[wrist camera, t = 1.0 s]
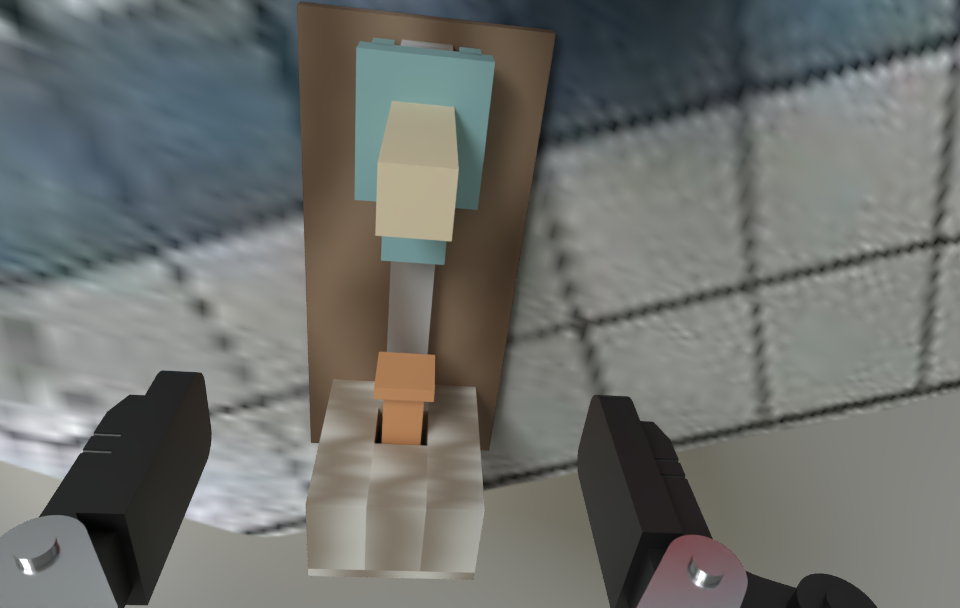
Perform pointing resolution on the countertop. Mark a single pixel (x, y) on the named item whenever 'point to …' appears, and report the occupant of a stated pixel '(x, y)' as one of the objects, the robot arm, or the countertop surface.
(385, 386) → the button
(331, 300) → the rail bench
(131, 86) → the countertop surface
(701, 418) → the countertop surface
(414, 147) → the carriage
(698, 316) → the countertop surface
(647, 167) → the countertop surface
